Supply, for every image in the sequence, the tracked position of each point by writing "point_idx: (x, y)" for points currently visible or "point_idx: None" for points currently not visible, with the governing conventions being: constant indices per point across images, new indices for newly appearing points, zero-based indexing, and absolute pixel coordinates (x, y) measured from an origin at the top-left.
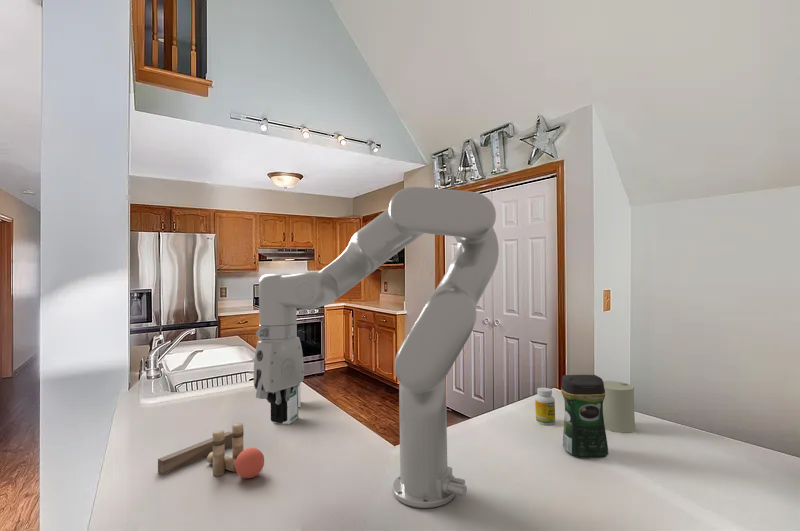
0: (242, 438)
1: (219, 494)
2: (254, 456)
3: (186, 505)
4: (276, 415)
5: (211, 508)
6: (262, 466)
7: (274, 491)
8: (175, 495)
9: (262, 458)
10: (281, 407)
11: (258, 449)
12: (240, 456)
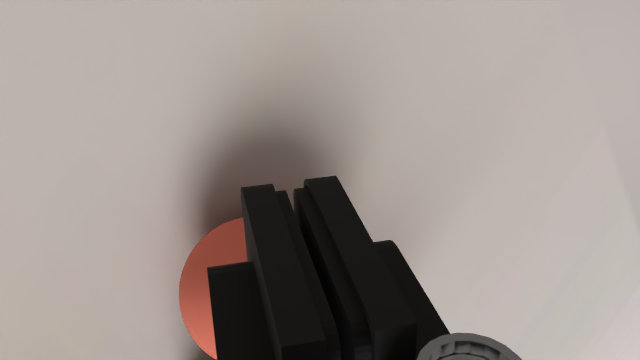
0: None
1: (412, 215)
2: None
3: (516, 236)
4: (400, 257)
5: (496, 146)
6: (219, 229)
7: (268, 34)
8: (486, 324)
9: (218, 257)
10: (396, 285)
11: (209, 327)
12: None
